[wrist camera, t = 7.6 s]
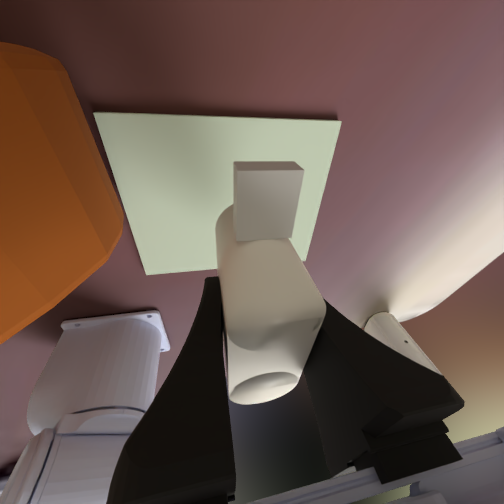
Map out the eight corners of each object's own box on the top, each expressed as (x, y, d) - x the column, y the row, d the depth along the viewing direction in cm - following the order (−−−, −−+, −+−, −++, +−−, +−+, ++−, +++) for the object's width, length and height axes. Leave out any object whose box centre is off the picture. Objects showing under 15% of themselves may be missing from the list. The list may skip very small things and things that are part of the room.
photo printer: (367, 314, 34) (433, 404, 25) (393, 308, 35) (467, 395, 25) (353, 347, 41) (401, 430, 31) (374, 342, 41) (428, 422, 32)
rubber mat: (147, 271, 21) (146, 274, 21) (96, 111, 13) (93, 112, 13) (303, 257, 24) (305, 260, 24) (338, 120, 16) (341, 121, 16)
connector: (219, 313, 15) (229, 409, 11) (210, 143, 9) (223, 210, 4) (265, 308, 16) (292, 396, 11) (288, 144, 9) (370, 204, 5)
